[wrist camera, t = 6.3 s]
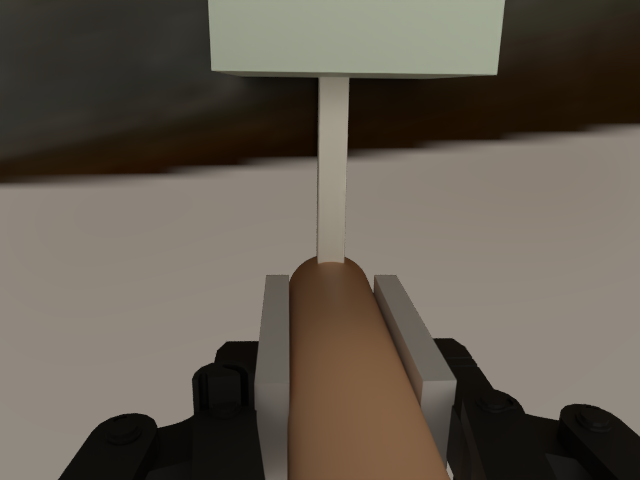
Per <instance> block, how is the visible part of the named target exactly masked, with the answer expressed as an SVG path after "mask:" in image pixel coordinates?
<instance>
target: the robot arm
mask: <svg viewBox="0 0 640 480" xmlns="http://www.w3.org/2000/svg"><path fill="white" fill-rule="evenodd" d="M373 294H374V297H375V299H376V301H377V304H378V306H379V309H380V311H381V314H382V316H383V318H384V321H385V323H386V326H387V328H388V330H389V333H390V335H391V338H392V340H393V343H394V345H395V347H396V350H397V352H398V355H399V357H400V359H401V362H402V364H403V367H404V369H405V372H406V374H407V376H408V379H409V381H410V384H411V386H412V388H413V391H414V393H415V396H416V398H417V400H418V403H419V405H420V408H421V410H422V413H423V415H424V417H425V420H426V422H427V425H428V427H429V429H430V432H431V434H432V437H433V439H434V442H435V444H436V446H437V449H438V451H439V454H440V456H441V458H442V461H443V463H444V466H445V468H447V461H448V463H449V466H450V468H451V470H452V473H453V475H454V476H453V480H640V436H638V435H637V434H636V433H635V432H634V431H633V430H632V429H630V428H629V427H628V426H627V425H626V424H625V423H624V422H622V421H621V420H620V419H619V418H617V417H616V416H614V415H613V414H611V413H609V412H607V411H605V410H603V409H601V408H599V407H596V406H591V405H586V404H572V405H567V406H565V407H564V408H563V409H562V410H561V412H560V418H559V420H553V419H548V418H542V417H537V416H533V415H529V414H525V412H524V410H523V408H522V406H521V405H520V404H519V402H518V401H517V400H516V399H515V398H513V397H511V396H510V395H508V394H506V393H504V392H501V391H498V390H495V389H493V387H492V386H491V384H490V383H489V381H488V380H487V379H486V377H485V375H484V374H483V373H482V371H481V370H480V368H479V367H477V364H476V362H475V361H474V360H473V359H472V356H471V355H470V353H469V352H468V351H467V349H466V348H465V347H464V346H463V345H461V344H460V343H458V342H457V341H455V340H454V339H452V338H439V339H438V338H435V339H433V338H432V337H431V335H430V333H429V332H428V330H427V328H426V327H425V324H424V323H423V321H422V319H421V318H420V316H419V314H418V312H417V311H416V309H415V307H414V305H413V304H412V302H411V300H410V299H409V297H408V295H407V293H406V291H405V290H404V288H403V286H402V284H401V283H400V281H399V279H398V278H397V276H396V275H375V276H374V293H373ZM192 387H193V405H194V415H193V416H192V417H190V418H188V419H186V420H184V421H182V422H179V423H176V424H173V425H169V426H165V427H160V428H157V425H156V423H155V420H154V419H152V418H151V417H149V416H147V415H144V414H138V413H131V414H122V415H119V416H115V417H112V418H110V419H108V420H106V421H104V422H102V423H101V424H99V425H98V426H97V427H96V428H95V429H94V430H93V431H92V432H91V434H90V435H89V437H88V438H87V440H86V441H85V442H84V444H83V445H82V447H81V448H80V449H79V451H78V452H77V454H76V455H75V457H74V458H73V459H72V461H71V462H70V464H69V465H68V466H67V468H66V469H65V471H64V472H63V473H62V475H61V476H60V478H59V479H58V480H287V424H288V416H289V275H267V276H266V284H265V293H264V302H263V311H262V319H261V328H260V337H259V341H229V342H226V343H225V344H224V345H223V346H222V347H220V349H218V350H217V353H216V357H215V361H214V363H210V364H208V365H206V366H203V367H201V368H200V369H199V370H198V371H197V372H196V373H195V374H194V376H193V378H192Z"/></svg>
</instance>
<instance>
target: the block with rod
mask: <svg viewBox="0 0 640 480" xmlns="http://www.w3.org/2000/svg"><path fill="white" fill-rule="evenodd" d="M504 3H505V0H208V7H209V28H210V49H211V69H212V71H215V72H220V73H225V74H230V75H234V76H243V77H318V175H317V177H318V178H317V256H316V257H313V258H311V259H309V260H307V261H305V262H304V263H303V264H301V265H300V266H299V267H298V268H297V269H296V271H295V272H294V273H293V275H292V277H291V279H290V282H289V416H288V424H287V480H450V478H449V475H448V473H447V471H446V468H445V466H444V463H443V461H442V458H441V456H440V454H439V451H438V449H437V446H436V444H435V442H434V439H433V437H432V434H431V432H430V429H429V427H428V425H427V422H426V420H425V417H424V415H423V413H422V410H421V408H420V405H419V403H418V400H417V398H416V396H415V393H414V391H413V388H412V386H411V384H410V381H409V379H408V376H407V374H406V372H405V369H404V367H403V364H402V362H401V359H400V357H399V355H398V352H397V350H396V347H395V345H394V343H393V340H392V338H391V335H390V333H389V330H388V328H387V326H386V323H385V321H384V318H383V316H382V314H381V311H380V309H379V306H378V304H377V301H376V299H375V297H374V294H373V292H372V289H371V287H370V285H369V282H368V280H367V278H366V275H365V274H364V272H363V270H362V269H361V268H360V267H359V266H358V265H357V264H356V263H355V262H353V261H352V260H350V259H348V258H346V257H344V249H345V248H344V247H345V210H346V176H347V139H348V102H349V78H393V79H431V78H448V77H465V76H482V75H497V68H498V59H499V50H500V41H501V31H502V22H503V13H504Z"/></svg>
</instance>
